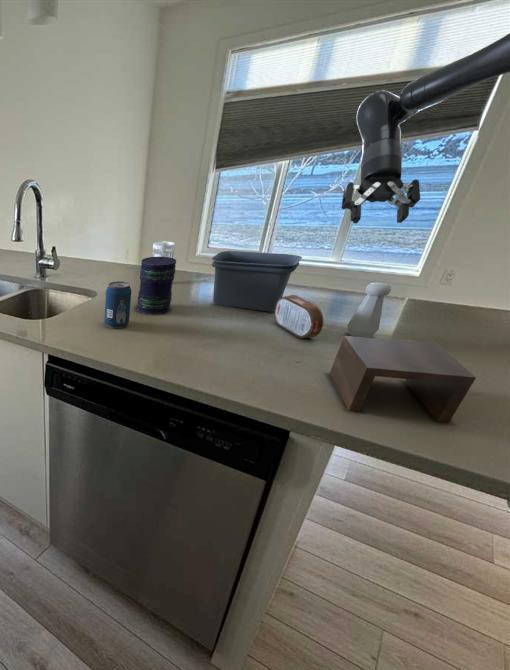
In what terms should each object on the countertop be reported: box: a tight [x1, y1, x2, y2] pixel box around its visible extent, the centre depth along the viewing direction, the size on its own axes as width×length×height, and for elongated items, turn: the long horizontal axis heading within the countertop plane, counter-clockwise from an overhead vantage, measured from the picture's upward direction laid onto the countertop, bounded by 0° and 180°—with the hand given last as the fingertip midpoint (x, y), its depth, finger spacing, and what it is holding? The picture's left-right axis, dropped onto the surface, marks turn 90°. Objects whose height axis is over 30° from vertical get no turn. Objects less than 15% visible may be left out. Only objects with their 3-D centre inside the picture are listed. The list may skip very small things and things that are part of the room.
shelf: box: [329, 335, 477, 423], centre depth 75 cm, size 14×14×9 cm
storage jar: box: [136, 256, 177, 315], centre depth 122 cm, size 10×10×15 cm
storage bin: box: [211, 250, 302, 313], centre depth 120 cm, size 21×16×14 cm
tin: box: [274, 294, 324, 339], centre depth 102 cm, size 15×3×8 cm, turn 0°
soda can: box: [103, 281, 132, 329], centre depth 114 cm, size 7×7×12 cm
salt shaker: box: [347, 282, 392, 338], centre depth 96 cm, size 6×6×13 cm
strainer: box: [151, 240, 176, 258], centre depth 144 cm, size 7×7×15 cm
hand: (378, 221), depth 97 cm, fingers open, 8 cm apart
